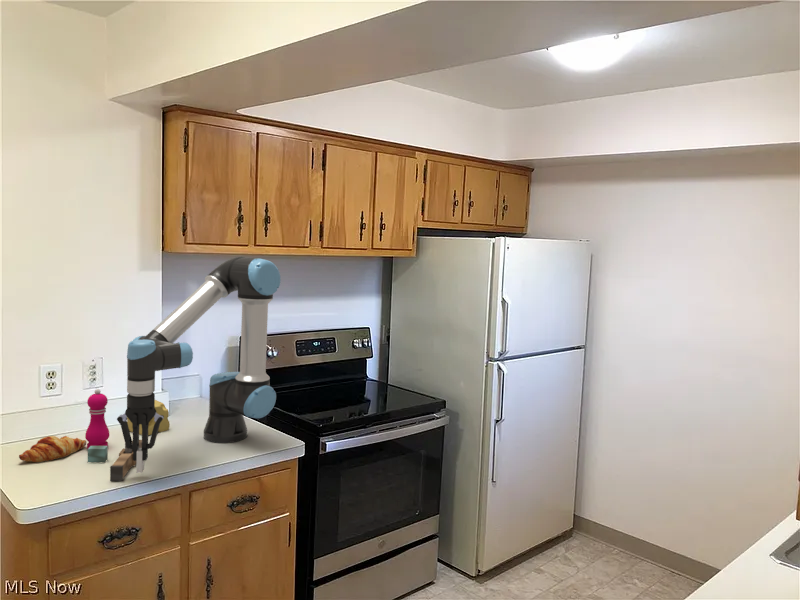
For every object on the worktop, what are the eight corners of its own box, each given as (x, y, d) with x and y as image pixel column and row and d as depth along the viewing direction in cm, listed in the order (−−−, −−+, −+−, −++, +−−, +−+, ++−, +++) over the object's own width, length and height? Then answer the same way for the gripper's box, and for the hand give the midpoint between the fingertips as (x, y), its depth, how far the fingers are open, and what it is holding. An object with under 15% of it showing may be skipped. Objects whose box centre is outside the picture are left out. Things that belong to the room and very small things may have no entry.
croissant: (80, 455, 215) (74, 432, 217) (97, 447, 210) (90, 424, 212) (15, 472, 197) (8, 447, 199) (31, 464, 192) (24, 438, 194)
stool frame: (143, 451, 212) (143, 430, 211) (132, 466, 199) (132, 444, 199) (97, 451, 210) (98, 430, 209) (84, 466, 197) (84, 444, 197)
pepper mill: (99, 453, 209) (99, 392, 206) (80, 450, 210) (80, 390, 208) (114, 446, 216) (114, 387, 213) (95, 443, 217) (95, 385, 215)
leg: (123, 460, 203) (123, 448, 202) (138, 460, 203) (138, 448, 203) (107, 480, 187) (107, 467, 186) (124, 480, 187) (124, 467, 187)
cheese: (169, 430, 235) (170, 403, 234) (144, 437, 226) (144, 409, 225) (151, 424, 241) (151, 398, 239) (125, 431, 232) (126, 404, 230)
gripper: (166, 390, 193) (165, 466, 196) (121, 389, 191) (120, 466, 194) (161, 396, 186) (160, 475, 188) (113, 396, 184) (113, 475, 186)
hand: (140, 470), depth 191 cm, fingers closed
